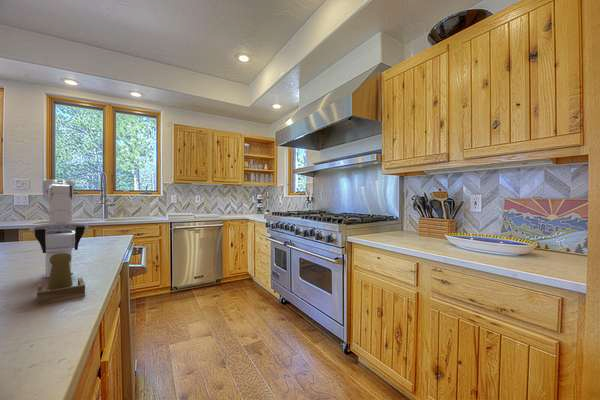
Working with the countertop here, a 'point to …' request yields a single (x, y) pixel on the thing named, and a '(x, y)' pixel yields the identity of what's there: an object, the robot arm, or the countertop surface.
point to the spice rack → (60, 293)
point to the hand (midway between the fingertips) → (60, 250)
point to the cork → (60, 271)
